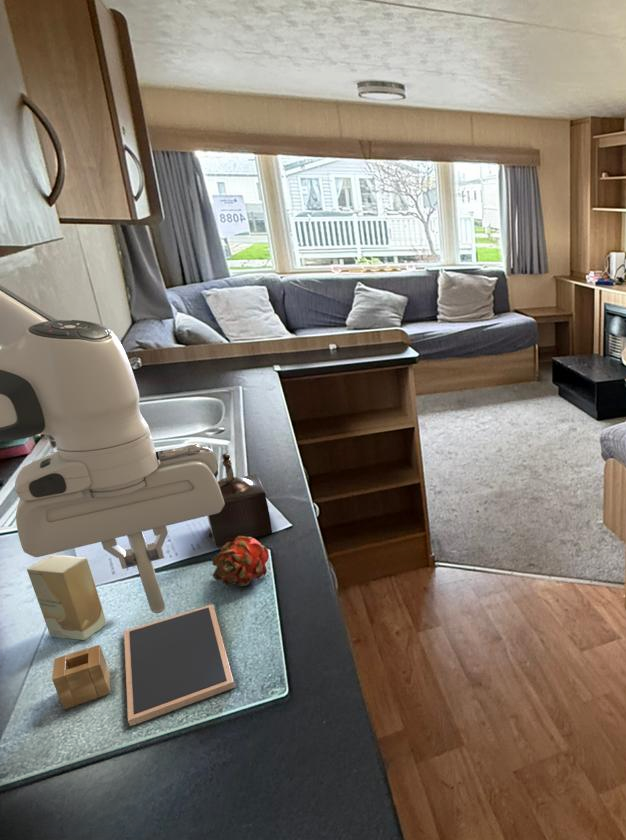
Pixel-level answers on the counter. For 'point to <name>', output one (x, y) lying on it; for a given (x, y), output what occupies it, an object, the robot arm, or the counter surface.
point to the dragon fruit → (240, 561)
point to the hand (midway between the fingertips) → (143, 561)
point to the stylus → (146, 572)
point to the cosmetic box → (67, 596)
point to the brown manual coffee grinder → (239, 508)
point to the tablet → (174, 663)
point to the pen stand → (81, 676)
